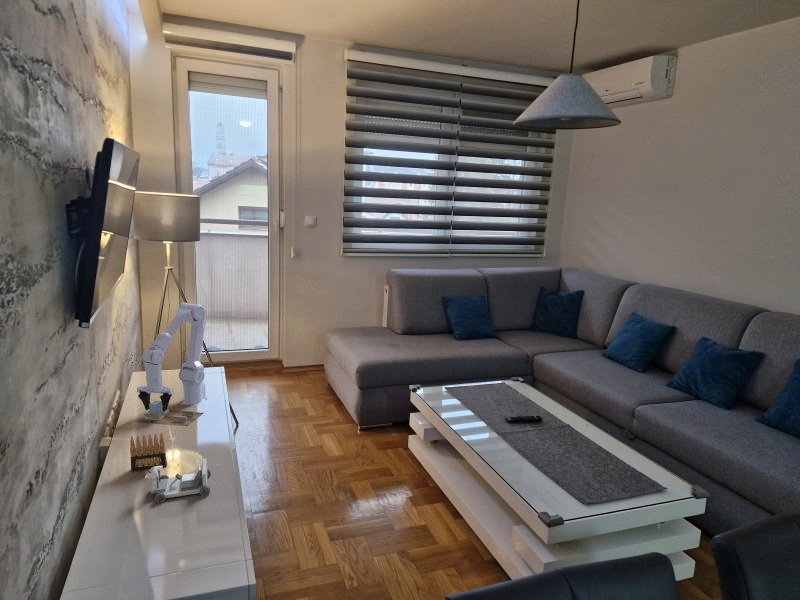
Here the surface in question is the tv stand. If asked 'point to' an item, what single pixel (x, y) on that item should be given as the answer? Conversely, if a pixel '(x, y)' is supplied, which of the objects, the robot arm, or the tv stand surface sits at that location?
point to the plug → (155, 407)
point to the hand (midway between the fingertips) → (156, 409)
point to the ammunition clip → (147, 453)
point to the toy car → (179, 483)
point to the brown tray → (171, 417)
